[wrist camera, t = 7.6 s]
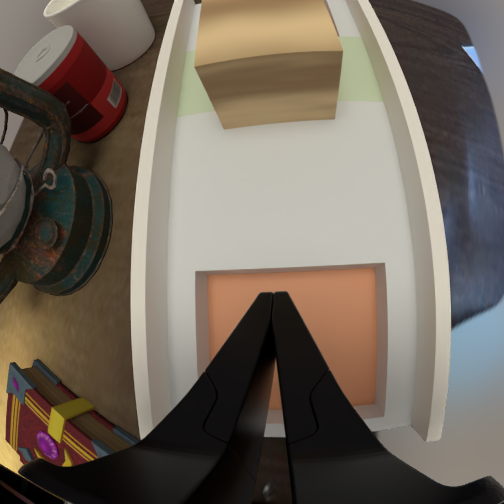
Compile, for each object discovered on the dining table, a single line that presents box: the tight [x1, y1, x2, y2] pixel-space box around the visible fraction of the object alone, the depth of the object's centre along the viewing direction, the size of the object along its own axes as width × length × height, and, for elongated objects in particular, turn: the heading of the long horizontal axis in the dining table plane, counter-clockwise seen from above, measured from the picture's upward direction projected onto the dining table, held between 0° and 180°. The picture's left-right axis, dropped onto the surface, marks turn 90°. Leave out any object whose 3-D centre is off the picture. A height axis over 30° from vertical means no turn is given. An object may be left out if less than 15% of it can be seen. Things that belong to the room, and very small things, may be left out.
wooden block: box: [194, 0, 343, 130], centre depth 18 cm, size 12×8×7 cm, turn 3°
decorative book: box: [6, 359, 139, 466], centre depth 20 cm, size 11×16×5 cm
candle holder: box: [43, 0, 155, 71], centre depth 23 cm, size 10×10×12 cm
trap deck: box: [131, 0, 451, 443], centre depth 20 cm, size 40×18×6 cm, turn 1°
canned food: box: [14, 25, 127, 142], centre depth 22 cm, size 8×8×11 cm
